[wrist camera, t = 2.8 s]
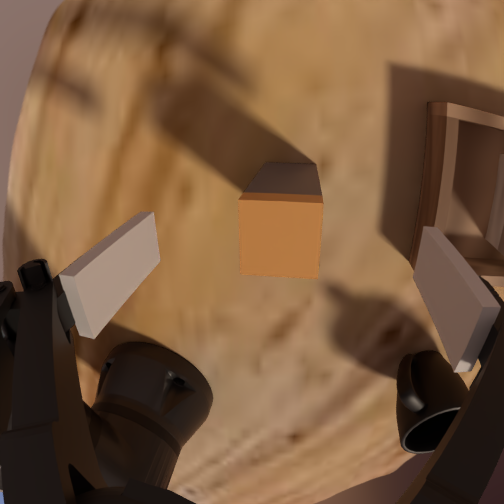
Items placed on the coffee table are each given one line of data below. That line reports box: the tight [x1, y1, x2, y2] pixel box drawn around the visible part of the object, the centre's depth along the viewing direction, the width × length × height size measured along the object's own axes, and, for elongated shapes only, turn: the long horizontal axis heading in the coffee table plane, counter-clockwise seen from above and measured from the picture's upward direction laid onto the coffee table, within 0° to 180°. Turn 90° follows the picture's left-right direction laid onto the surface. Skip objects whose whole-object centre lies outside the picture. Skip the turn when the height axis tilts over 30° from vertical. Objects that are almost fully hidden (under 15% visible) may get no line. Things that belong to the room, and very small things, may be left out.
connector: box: [238, 162, 324, 279], centre depth 21 cm, size 4×4×11 cm
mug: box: [396, 351, 469, 454], centre depth 27 cm, size 8×12×10 cm
